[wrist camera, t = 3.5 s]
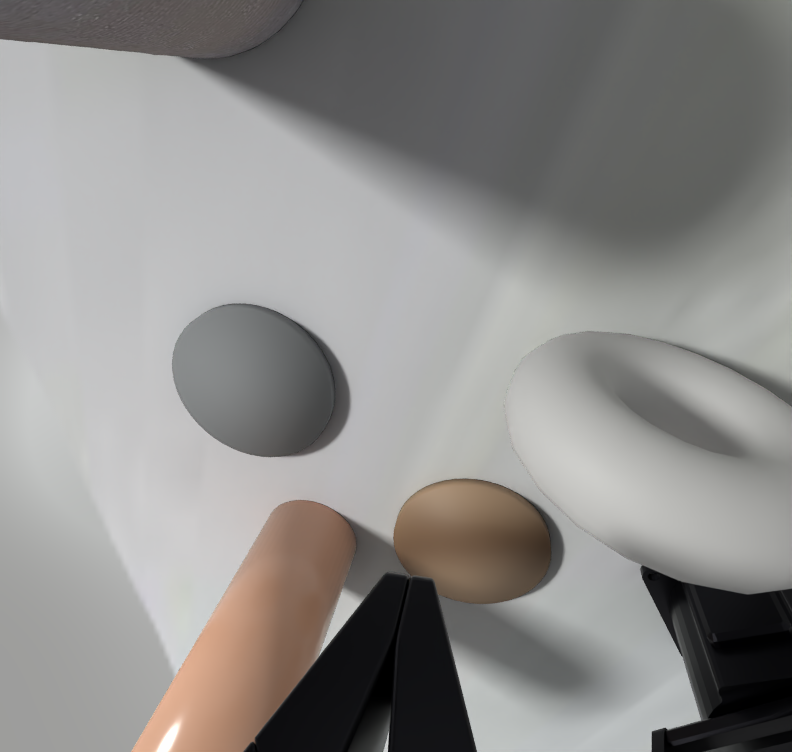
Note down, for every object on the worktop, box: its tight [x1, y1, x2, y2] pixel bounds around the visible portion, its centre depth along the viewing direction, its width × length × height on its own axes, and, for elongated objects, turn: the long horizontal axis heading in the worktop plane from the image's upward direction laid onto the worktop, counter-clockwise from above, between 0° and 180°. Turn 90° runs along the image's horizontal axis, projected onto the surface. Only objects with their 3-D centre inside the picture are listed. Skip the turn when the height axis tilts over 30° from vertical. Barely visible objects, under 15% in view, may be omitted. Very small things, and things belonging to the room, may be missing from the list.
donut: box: [504, 331, 792, 595], centre depth 16 cm, size 10×4×10 cm, turn 76°
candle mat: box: [172, 304, 335, 457], centre depth 24 cm, size 8×8×1 cm
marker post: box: [131, 500, 357, 752], centre depth 23 cm, size 5×5×13 cm
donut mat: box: [393, 479, 551, 604], centre depth 26 cm, size 8×8×1 cm
